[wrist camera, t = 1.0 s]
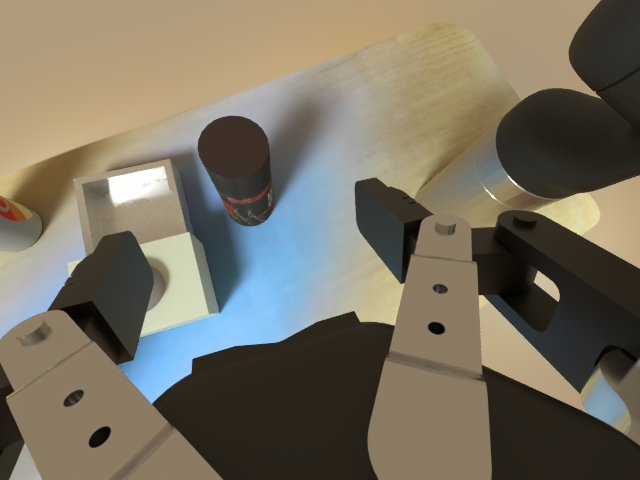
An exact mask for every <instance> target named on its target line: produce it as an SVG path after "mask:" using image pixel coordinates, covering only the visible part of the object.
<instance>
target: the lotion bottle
mask: <svg viewBox="0 0 640 480" xmlns="http://www.w3.org/2000/svg"><path fill="white" fill-rule="evenodd" d="M41 231H42V221H41V218H40V217H39V215H38V214H37V213H36V212H35V211H33V210H32V209H30V208H28V207H26V206H23V205H21V204H19V203H16V202H14V201H12V200H9V199H7V198H4V197H2V196H0V251H3V252H18V251H21V250H24V249H26V248H28V247H30V246H31V245H33V244H34V243H35V242H36V241H37V239H38V238H39V236H40V234H41Z"/></svg>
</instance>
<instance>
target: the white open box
mask: <svg viewBox="0 0 640 480" xmlns="http://www.w3.org/2000/svg"><path fill="white" fill-rule="evenodd" d="M73 182H74V188H75V193H76V199H77V205H78V211H79V217H80V222H81V228H82V234H83V240H84V246H85V251H86V257H87V256H88V255H89V254H91V253H93V252H94V250H95V248H96V247H97V245H98V243H99V242H100V240H101V239H102V237H103V236H105V235H110V234H115V233H119V232H124V231H131V232H132V233H133V234H134V236H135V238H136V240H137V241H138V243H139V245H140V244H144V243H148V242H152V241H156V240H160V239H164V238H167V237H171V236H175V235H179V234H183V233H187V232H190V233H191V234H192V235H193V236H194V237H195V234H194V230H193V226H192V222H191V218H190V214H189V210H188V205H187V201H186V197H185V193H184V189H183V185H182V181H181V176H180V172H179V171H178V170H177V168H176V167H175V166H174V164H173V163H172V161H171V160H170V159H166V160H161V161H156V162H152V163H147V164H142V165H137V166H133V167H128V168H123V169H118V170H114V171H109V172H104V173H99V174H95V175H90V176H85V177H80V178H76V179H73Z"/></svg>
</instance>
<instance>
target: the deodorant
mask: <svg viewBox="0 0 640 480" xmlns="http://www.w3.org/2000/svg"><path fill="white" fill-rule="evenodd" d="M198 152H199V157H200V159H201V161H202V163H203V164H204V166H205V168H206V170H207V172H208V174H209V176H210V178H211V180H212V182H213V184H214V185H215V187H216V189H217V191H218V193H219V195H220V197H221V199H222V201H223V203H224V205H225V207H226V208H227V210H228V212H229V214H230V216H231V218H232V219H233V220H234V221H235V222H237V223H239V224H241V225H244V226H256V225H259V224H261V223H263V222H264V221H265V220H267V219H268V217H269V216H270V214H271V212H272V209H273V198H272V183H271V169H270V154H269V143H268V139H267V136H266V134H265V133H264V131H263V129H262V128H261V127H260V126H259V125H258V124H256V123H255V122H253V121H251V120H250V119H247V118H244V117H241V116H226V117H222V118H219V119H216V120H214V121H213V122H211V123H210V124H209V125H207V126H206V128H205V129H204V130H203V131H202V133H201V135H200V138H199V140H198Z"/></svg>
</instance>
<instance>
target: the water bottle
mask: <svg viewBox="0 0 640 480" xmlns="http://www.w3.org/2000/svg"><path fill="white" fill-rule="evenodd" d="M9 480H42V479H41V476H40V474H39V472H38V470H37V468H36V465H35V463H34V461H33V459H32V457H31V454H30V452H29V450H28V448H27V445H26V443H25V444H24V446H23V449H22V451H21V453H20V456H19V458H18V460H17V463H16V465H15V467H14V470H13V472H12V474H11V477H10V479H9Z"/></svg>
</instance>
